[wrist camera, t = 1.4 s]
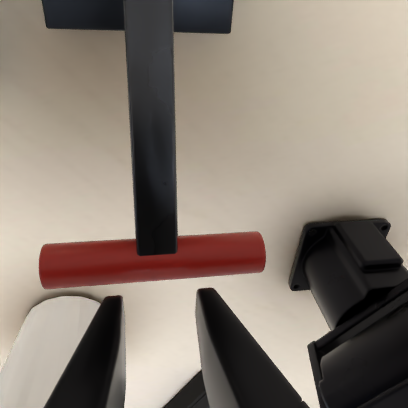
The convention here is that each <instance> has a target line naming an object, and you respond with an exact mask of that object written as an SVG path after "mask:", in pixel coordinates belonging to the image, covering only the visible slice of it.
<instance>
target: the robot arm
mask: <svg viewBox="0 0 408 408" xmlns="http://www.w3.org/2000/svg"><path fill="white" fill-rule="evenodd" d="M390 227H391V225H390V223H389V222H388V221H387V220H386V219H375V220H358V221H340V222H323V223H310V224H308V225H306V226H305V227H304V229H303V233H302V236H301V240H300V244H299V247H298V251H297V255H296V258H295V262H294V266H293V269H292V273H291V277H290V280H289V287H290V289H291V290H292V291H301V290H311V292H312V294H313V296H314V298H315V300H316V302H317V304H318V306H319V308H320V310H321V312H322V314H323V316H324V318H325V320H326V322H327V324H328V326H329V328H330V330H331V331H330V332H329V333H327V334H326V335H324V336H323V337H321V338H320V339H318V340H317V341H313V342H311V343H310V344H308V345H307V347H308V352H309V357H310V362H311V367H312V371H313V376H314V381H315V385H316V390H317V395H318V399H319V404H320V408H408V271H407V269H406V268H405V267H404V266H403V264H402V263H403V259H402V258H401V257H400V255H399V254H398V253H397V252H396V251H395V249H394V248H393V247H392V246H391V245H390V243H389V242H388V241H387V240H386V236H387V234H388V232H389V229H390ZM311 230H312V231H311ZM309 231H310V232H309ZM195 315H196V325H197V334H198V342H199V350H200V359H201V367H202V374H203V380H204V385H205V389H206V393H207V398H208V402H209V406H210V408H309V407H308V405H307V404H306V403H305V402H304V401H302V398H301V397H300V395H299V394H298V393H297V392H296V390H295V389H294V388H293V387H292V385H291V384H290V383H289V382H288V380H287V379H286V378H285V377H284V375H283V374H282V373H281V372H280V370H279V369H278V368H277V367H276V365H275V364H274V363H273V362H272V360H271V359H270V358H269V357H268V355H267V354H266V353H265V352H264V350H263V349H262V348H261V347H260V345H259V344H258V343H257V342H256V340H255V339H254V338H253V337H252V335H251V334H250V333H249V332H248V330H247V329H246V328H245V327H244V325H243V324H242V323H241V322H240V320H239V319H238V318H237V317H236V315H235V314H234V313H233V312H232V310H231V309H230V308H229V307H228V305H227V304H226V303H225V302H224V300H223V299H222V298H221V296H220V295H219V294H218V293H217V291H216V290H215V289H214V288H201V289H198V290H197V294H196V309H195ZM125 390H126V348H125V315H124V305H123V297H122V296H120V295H117V296H107V297H105V298H104V299H103V301H102V303H101V304H100V306H99V308H98V310H97V312H96V314H95V315H94V317H93V319H92V321H91V323H90V324H89V326H88V328H87V330H86V332H85V333H84V335H83V337H82V339H81V341H80V342H79V344H78V346H77V348H76V350H75V352H74V353H73V355H72V357H71V359H70V361H69V362H68V364H67V366H66V368H65V370H64V371H63V373H62V375H61V377H60V379H59V380H58V382H57V384H56V386H55V388H54V390H53V391H52V393H51V395H50V397H49V399H48V400H47V402H46V404H45V406H44V408H124V402H125ZM301 401H302V402H301Z"/></svg>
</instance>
